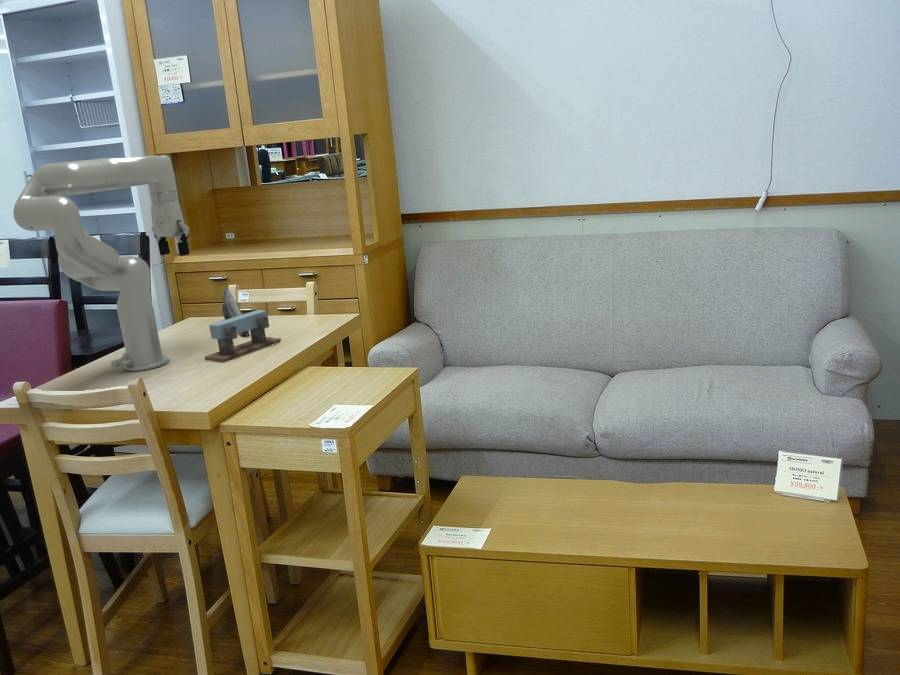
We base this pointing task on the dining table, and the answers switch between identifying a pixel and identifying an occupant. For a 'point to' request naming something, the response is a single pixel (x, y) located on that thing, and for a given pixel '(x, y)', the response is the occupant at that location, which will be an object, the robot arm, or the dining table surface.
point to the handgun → (230, 308)
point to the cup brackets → (231, 351)
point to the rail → (236, 324)
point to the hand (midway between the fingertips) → (174, 254)
